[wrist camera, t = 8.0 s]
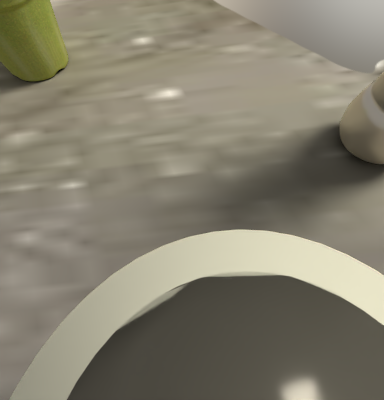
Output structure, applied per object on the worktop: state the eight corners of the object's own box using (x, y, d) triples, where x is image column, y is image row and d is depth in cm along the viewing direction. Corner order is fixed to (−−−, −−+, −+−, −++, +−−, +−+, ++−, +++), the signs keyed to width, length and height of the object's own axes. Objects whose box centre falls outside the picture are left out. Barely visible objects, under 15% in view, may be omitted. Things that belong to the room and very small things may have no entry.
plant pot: (81, 31, 28) (38, -77, 20) (89, 84, 24) (39, -25, 16) (-2, 45, 27) (-82, -64, 19) (-7, 102, 23) (-110, -5, 15)
